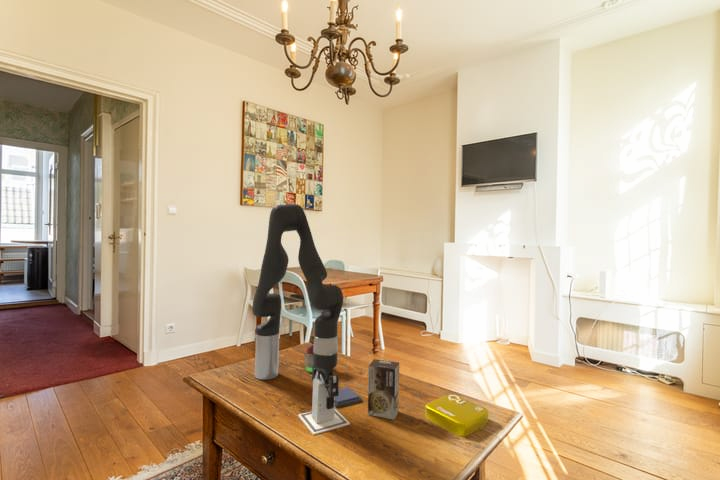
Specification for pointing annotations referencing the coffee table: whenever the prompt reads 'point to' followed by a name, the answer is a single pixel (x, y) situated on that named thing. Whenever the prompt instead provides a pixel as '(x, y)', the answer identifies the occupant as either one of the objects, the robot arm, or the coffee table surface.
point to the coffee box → (383, 388)
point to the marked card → (324, 426)
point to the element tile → (456, 414)
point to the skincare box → (320, 403)
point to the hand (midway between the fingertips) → (324, 402)
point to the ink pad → (346, 397)
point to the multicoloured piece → (309, 357)
